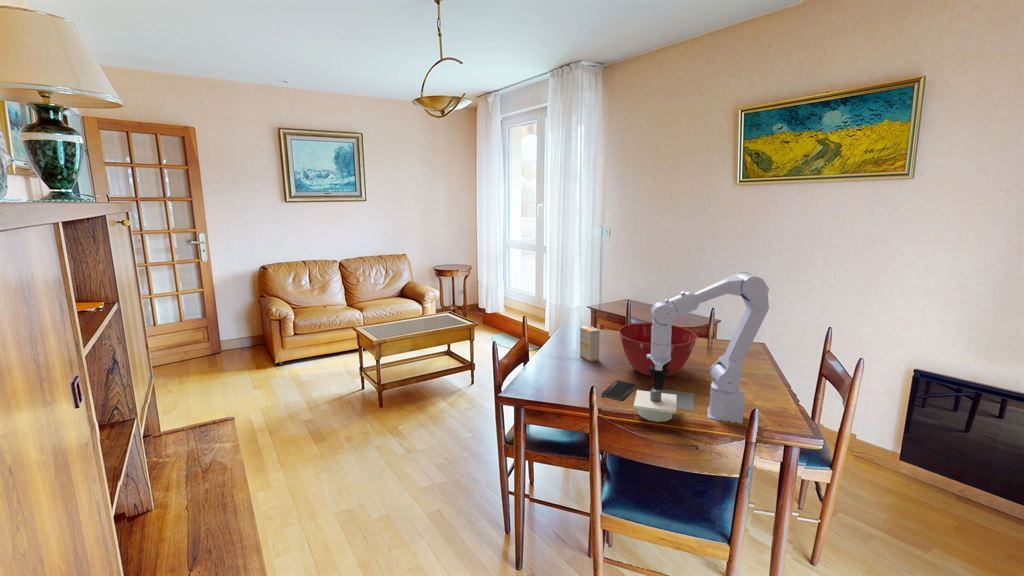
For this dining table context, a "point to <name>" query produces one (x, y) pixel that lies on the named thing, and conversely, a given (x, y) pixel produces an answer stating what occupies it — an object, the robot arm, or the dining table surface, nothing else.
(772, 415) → the dining table surface
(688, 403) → the mat
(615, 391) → the phone
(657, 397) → the lid
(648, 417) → the bowl
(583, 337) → the supplement box
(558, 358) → the dining table surface
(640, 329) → the mixing bowl
